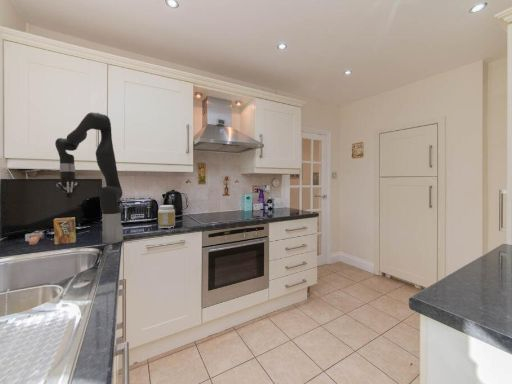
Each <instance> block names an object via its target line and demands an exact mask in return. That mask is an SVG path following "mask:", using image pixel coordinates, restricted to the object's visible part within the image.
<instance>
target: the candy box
mask: <svg viewBox="0 0 512 384" xmlns="http://www.w3.org/2000/svg"><path fill="white" fill-rule="evenodd" d="M76 230H77V229H76V217H75V216H74V217H61V218H60V217H59V218H57V217H56V218H54V219H53V233H54V234H53V235H54V245H64V244H72V243H74V244H73V246H75V245H76V242H77V235H76Z"/></svg>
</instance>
